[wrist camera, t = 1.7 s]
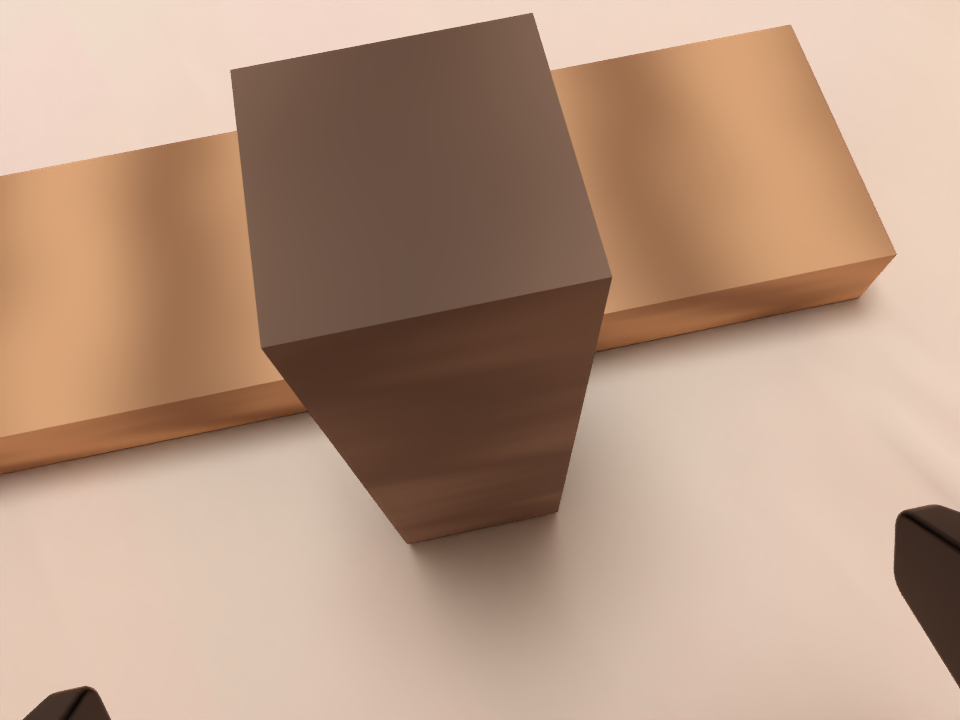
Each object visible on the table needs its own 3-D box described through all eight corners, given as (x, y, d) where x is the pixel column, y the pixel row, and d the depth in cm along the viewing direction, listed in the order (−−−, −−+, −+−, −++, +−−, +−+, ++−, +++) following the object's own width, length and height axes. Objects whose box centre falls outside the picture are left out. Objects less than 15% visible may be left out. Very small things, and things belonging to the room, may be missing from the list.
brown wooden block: (471, 155, 25) (431, -323, 13) (557, 511, 21) (612, 277, 9) (345, 179, 25) (192, -282, 13) (407, 544, 21) (260, 348, 9)
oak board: (766, 82, 26) (791, 22, 24) (859, 297, 23) (897, 253, 21) (-358, 301, 25) (-448, 261, 23) (-413, 559, 22) (-525, 543, 20)
